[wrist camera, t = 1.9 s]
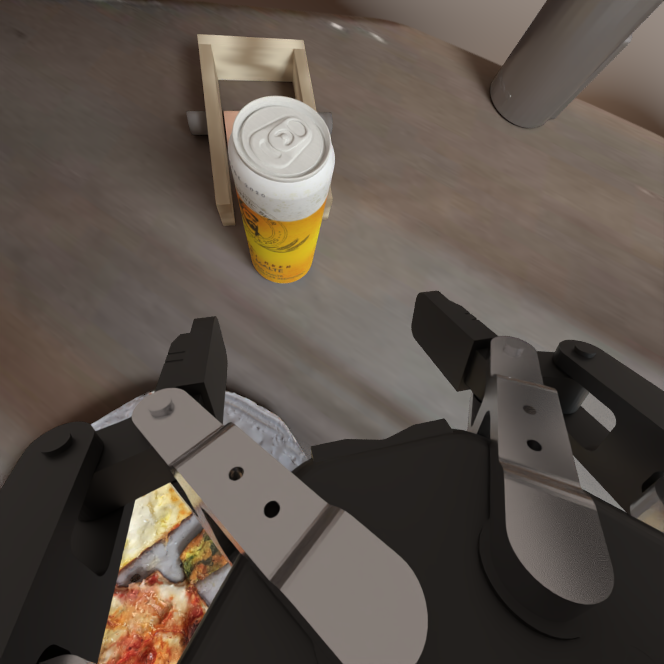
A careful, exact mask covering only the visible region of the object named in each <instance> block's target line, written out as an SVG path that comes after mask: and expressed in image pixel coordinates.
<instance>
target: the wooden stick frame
mask: <svg viewBox="0 0 664 664" xmlns="http://www.w3.org/2000/svg"><path fill="white" fill-rule="evenodd" d="M197 36H198V45H199V54H200V63H201V72H202V81H203V90H204V99H205V109H206V111H187V119H188V124H189V128H190V131H191V134H192V135H208V136H209V145H210V154H211V163H212V172H213V181H214V191H215V200H216V206H217V209H218V212H219V215H220V218H221V220H222V223H223V226H230V225H236V224H235V216H234V207H233V199H232V191H231V183H230V174H229V166H228V158H227V149H226V141H225V133H224V125H223V116H222V108H221V100H220V91H219V83H218V80H247V81H281V82H293V87H294V93H295V99H296V100H298V101H301V102H303V103H305V104H306V105H308V106H310V107H311V108H312V109H314V110H315V111H316V106H315V101H314V96H313V90H312V85H311V79H310V74H309V69H308V63H307V58H306V52H305V47H304V42H303V40H290V39H272V38H254V37H237V36H219V35H201V34H197ZM239 112H240V111H224V119H225V127H226V135H227V143H228V142H229V138H230V135H231V133H232V128H233V123H234V120H235V118H236V116H237V114H238V113H239ZM317 113H318V114H319V115H320V116H321V117H322V119H323V120H324V122H325V123H326V125H327V127H328V130H329V132H330V134H331V133H332V114H331V112H317ZM332 200H333V198H332V193H331V187H329V191H328V196H327V200H326V204H325V208H324V213H323V217H322V220H327V219H328V215H329V211H330V208H331V204H332Z"/></svg>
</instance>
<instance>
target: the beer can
mask: <svg viewBox="0 0 664 664" xmlns="http://www.w3.org/2000/svg"><path fill="white" fill-rule="evenodd" d="M228 156H229V161H230V165H231V170H232V174H233V179H234V183H235V188H236V192H237V197H238V201H239V206H240V210H241V214H242V219H243V223H244V228H245V232H246V237H247V241H248V246H249V250H250V255H251V259H252V263H253V265H254V267H255V269H256V270H257V271H258V273H259V274H260V275H262V276H263V277H264V278H266V279H268V280H270V281H272V282H276V283H291V282H294V281H296V280H298V279H300V278H302V277H303V276H304V275H305V274H306V273H307V272H308V270H309V269H310V267H311V264H312V260H313V256H314V252H315V247H316V243H317V239H318V234H319V230H320V226H321V221H322V217H323V213H324V208H325V204H326V200H327V196H328V191H329V187H330V183H331V178H332V174H333V170H334V164H335V155H334V149H333V146H332V143H331V137H330V132H329V130H328V127H327V125H326V123H325V122H324V120H323V119H322V117H321V116H320V115H319V114H318V113H317V112H316V111H315V110H314V109H312V108H311V107H310V106H308V105H306V104H305V103H303V102H301V101H298V100H296V99H293V98H289V97H284V96H267V97H262V98H259V99H256V100H254V101H252V102H250V103H248V104H247V105H245V106H244V107H243V108H242V109H241V110H240V112H239V113H238V114H237V116H236V118H235V120H234V123H233V128H232V133H231V135H230V138H229V142H228Z"/></svg>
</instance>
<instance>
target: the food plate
mask: <svg viewBox="0 0 664 664" xmlns="http://www.w3.org/2000/svg"><path fill="white" fill-rule="evenodd" d="M153 390H154V389H153ZM154 392H155V390H154V391H152V392H150V393H147V395H145V396H143V397H141V398H138V397H137V398H138V399H137V398H135V399H136V400H135V399H133V400H134V401H133V400H131V401H132V402H131V401H130V402H128V403H129V404H128V403H126V404H127V405H126V404H125V406H124V405H123V407H122V406H121V407H119V408H120V409H119V408H118V410H117V409H116V410H114V411H115V412H114V411H113V412H111V413H109V414H108V415H106V416H104V417H102V418H101V419H99V420H98V421H96V422H94V423H92V424H91V425H92V427H93V428H94V430H95V431H97V430H100V429H102V428H105V427H107V426H110V425H113V424H115V423H118V422H120V421H123V420H125V419H127V418H129V417H131V416H132V413H133V410H134V408H135V407H136V405H137V404H138V403H139V402H140V401H141V400H142V399H144V398H145V397H147V396H148V395H150V394H152V393H154ZM143 395H144V394H143ZM141 396H142V395H141ZM139 397H140V396H139ZM246 398H247V397H246ZM246 398H244V397H242V396H240V395H237V394H235V393H234V392H232V393H231V392H228V391H225V404H224V417H223V425H224V426H225V425H226V424H227V423H229V422H232V423H234V424H235V425H237V426H238V427H239V428H240V429H241V430H243V431H244V432H245V433H246V434H247V435H248V436H250V437H251V438H252V439H253V440H254V441H255V442H257V443H258V444H259V445H260V446H261V447H262V448H264V449H265V450H266V451H267V452H268V453H269V454H271V455H272V456H273V457H274V458H275V459H276V460H277V461H279V462H280V463H281V464H282V465H283V466H284V467H286V468H287V469H288V470H289V471H290V472H291V471H292V470H294V469H295V468H296V467H297V466H299V465H300V464H302V463H303V462H305V461H307V460H309V459H308V458H307V457H306V455H305V454H304V452H303V450H302V449H301V447H300V445H299V444H298V442H297V441H296V440H295V438H294V436H293V435H292V433H291V432H290V431H289V429H288V427H287V426H286V424H285V423H284V422H283V420H281V419H280V417H279V416H277V415H275V414H274V413H273V412H270V411H269V410H267V409H266V408H263V407H262V406H257V404H255V402H253V401H250V399H246ZM166 551H167V552H166ZM230 569H231V565H230V564H229V563H228V561H227V560H226V559H225V558H224V556H223V555H222V554H221V552H220V551H219V550H218V548H217V547H216V546H215V544H214V543H213V541H212V540H211V538H210V537H209V535H208V534H207V532H206V531H205V529H204V528H203V527H202V525H201V524H200V523H199V521H198V520H197V519H196V517H195V516H194V515H193V514H192V512H191V511H190V510H189V508H188V507H187V506H186V505H185V503H184V502H183V501H182V500H181V498H180V497H179V496H178V494H177V493H176V492H175V491H174V489H173V488H172V487H171V485H170V484H169V483H168V484H166V485H164V486H162V487H160V488H158V489H156V490H154V491H152V492H150V493H148V494H146V495H144V496H142V497H140V498H138V499H136V500H135V504H134V509H133V513H132V517H131V521H130V526H129V530H128V534H127V539H126V543H125V547H124V551H123V556H122V560H121V564H120V569H119V573H118V577H117V581H116V586H115V590H114V594H113V599H112V603H111V607H110V611H109V616H108V620H107V624H106V629H105V633H104V637H103V642H102V646H101V650H100V654H99V659H98V663H97V664H177V662H178V660H179V658H180V657H181V655H182V653H183V651H184V649H185V648H186V646H187V644H188V642H189V641H190V639H191V637H192V635H193V634H194V632H195V630H196V628H197V627H198V625H199V623H200V621H201V620H202V618H203V616H204V614H205V613H206V611H207V609H208V607H209V606H210V604H211V602H212V600H213V599H214V597H215V595H216V593H217V592H218V590H219V588H220V586H221V585H222V583H223V581H224V579H225V578H226V576H227V574H228V572H229V571H230ZM135 574H139V575H140V577H141V578H140V579H139V580H138V581H136V582H131V578H132V576H134V575H135Z"/></svg>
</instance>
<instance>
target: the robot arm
mask: <svg viewBox="0 0 664 664" xmlns="http://www.w3.org/2000/svg"><path fill="white" fill-rule="evenodd" d="M663 1H664V0H547V1H546V3H545V4H544V5H543V7H542V8H541V10H540V11H539V13H538V14H537V16H536V17H535V19H534V20H533V21H532V23H531V25H530V26H529V27H528V29H527V31H526V32H525V33H524V35H523V36H522V38H521V39H520V41H519V42H518V44H517V45H516V47H515V48H514V50H513V51H512V53H511V54H510V56H509V57H508V59H507V60H506V62H505V63H504V65H503V66H502V68H501V69H500V71H499V72H498V74H497V75H496V77H495V78H494V80H493V81H492V83H491V87H490V94H491V99H492V101H493V103H494V105H495V107H496V109H497V110H498V111H499V112H500V114H501V115H502V116H503V117H505V118H506V119H507V120H508V121H510V122H512V123H513V124H515V125H518V126H521V127H525V128H535V127H539V126H541V125H543V124H544V123H545V122H546V121H547V120H548V119H554V118H556V117H557V116H558V115H559V114H560V113H561V112H562V111H563V110H564V109H565V108H566V106H567V105H568V104H569V103H570V102H571V101H572V100H573V99H574V98H575V97H576V96H577V95H578V94H579V93H580V92H581V91H582V90H583V89H584V88H585V87H586V86H587V85H588V84H589V83H590V82H591V81H592V80H593V79H594V78H595V77H596V76H597V75H598V74H599V73H600V72H601V71H602V70H603V69H604V68H605V67H606V66H607V65H608V64H609V63H610V62H611V61H612V60H613V59H614V58H615V57H616V56H617V55H618V54H619V53H620V52H621V51H622V50H623V49H624V48H625V47H626V46H627V45H628V44H629V43H630V41H631V39H632V33H633V32H634V31H635V30H636V29H637V28H638V27H639V26H640V25H641V24H642V23H643V22H644V21H645V20H646V19H647V18H648V17H649V16H650V15H651V13H653V12H654V11H655V9H656V8H658V6H659V5H660V4H661V3H662V2H663ZM411 328H412V334H413V337H414V338H415V340H416V341H417V342H418V343H419V345H420V346H421V347H422V348H423V350H424V351H425V352H426V353H427V355H428V356H429V357H430V358H431V360H432V361H433V362H434V363H435V365H436V366H437V367H438V368H439V370H440V371H441V372H442V373H443V375H444V376H445V377H446V378H447V380H448V381H449V382H450V383H451V385H452V386H453V387H454V388H455V390H456V391H457V392H458V391H463V390H468V389H471V390H472V394H471V397H470V404H469V417H468V429H467V431H464V430H457V429H451V427H450V426H449V424H448V423H447V422H446V420H445V419H440V420H435V421H430V422H425V423H421V424H416V425H413V426H411V427H409V428H407V429H405V430H403V431H401V432H399V433H397V434H395V435H393V436H391V437H389V438H387V439H384V440H362V439H344V440H339V441H335V442H330V443H325V444H320V445H316V446H311V459H309V460H307V461H305V462H303V463H302V464H300V465H299V466H297V467H296V468H295V469H294V470H292V471H291V472H290V471H289V470H288V469H287V468H286V467H284V466H283V465H282V464H281V463H280V462H279V461H277V460H276V459H275V458H274V457H273V456H272V455H271V454H269V453H268V452H267V451H266V450H265V449H264V448H262V447H261V446H260V445H259V444H258V443H257V442H255V441H254V440H253V439H252V438H251V437H250V436H248V435H247V434H246V433H245V432H244V431H243V430H241V429H240V428H239V427H238V426H237V425H235V424H234V423H232V422H229V423H227V424H226V425H225V426H224V425H223V417H224V404H225V391H226V378H227V354H226V349H225V345H224V342H223V338H222V334H221V330H220V326H219V322H218V319H217V317H216V316H214V317H206V318H197V319H194V321H193V324H192V328H191V332H190V333H186V334H180V335H179V336H178V337H177V338H176V339H175V340H174V341H173V342H172V343H171V346H170V349H169V352H168V355H167V358H166V360H165V364H164V366H163V369H162V372H161V375H160V378H159V381H158V384H157V386H156V389H155V392H154V393H152V394H150V395H148V396H147V397H145V398H144V399H142V400H141V401H140V402H139V403H138V404H137V405H136V407H135V408H134V410H133V413H132V416H131V417H129V418H127V419H125V420H123V421H120V422H118V423H115V424H113V425H110V426H107V427H105V428H102V429H100V430H97V431H95V430H94V428H93V427H92V425H90V424H89V423H86V422H71V423H67V424H63V425H61V426H58V427H56V428H53V429H51V430H50V431H48V432H46V433H44V434H43V435H41V436H40V437H39V438H37V439H36V440H35V441H34V442H32V443H31V444H30V445H29V446H28V448H27V449H26V450H25V451H24V453H23V454H22V456H21V458H20V459H19V461H18V462H17V464H16V466H15V467H14V469H13V471H12V472H11V474H10V475H9V477H8V479H7V480H6V482H5V484H4V485H3V487H2V489H1V490H0V664H97V663H98V659H99V654H100V650H101V646H102V642H103V637H104V633H105V629H106V624H107V620H108V616H109V611H110V607H111V603H112V599H113V594H114V590H115V586H116V581H117V577H118V573H119V569H120V564H121V560H122V556H123V551H124V547H125V543H126V539H127V534H128V530H129V526H130V521H131V517H132V513H133V509H134V504H135V500H136V499H138V498H140V497H142V496H144V495H146V494H148V493H150V492H152V491H154V490H156V489H158V488H160V487H162V486H164V485H166V484H168V483H169V484H170V485H171V487H172V488H173V489H174V491H175V492H176V493H177V494H178V496H179V497H180V498H181V500H182V501H183V502H184V503H185V505H186V506H187V507H188V508H189V510H190V511H191V512H192V514H193V515H194V516H195V517H196V519H197V520H198V521H199V523H200V524H201V525H202V527H203V528H204V529H205V531H206V532H207V534H208V535H209V537H210V538H211V540H212V541H213V543H214V544H215V546H216V547H217V548H218V550H219V551H220V552H221V554H222V555H223V556H224V558H225V559H226V560H227V561H228V563H229V564H230V565H231V569H230V571H229V572H228V574H227V576H226V578H225V579H224V581H223V583H222V585H221V586H220V588H219V590H218V592H217V593H216V595H215V597H214V599H213V600H212V602H211V604H210V606H209V607H208V609H207V611H206V613H205V614H204V616H203V618H202V620H201V621H200V623H199V625H198V627H197V628H196V630H195V632H194V634H193V635H192V637H191V639H190V641H189V642H188V644H187V646H186V648H185V649H184V651H183V653H182V655H181V657H180V658H179V660H178V662H177V664H664V391H663V390H661V389H660V388H658V387H657V386H655V385H654V384H652V383H651V382H649V381H648V380H646V379H645V378H643V377H642V376H640V375H639V374H637V373H636V372H634V371H633V370H631V369H630V368H628V367H627V366H625V365H624V364H622V363H621V362H619V361H618V360H616V359H615V358H613V357H612V356H610V355H609V354H607V353H606V352H604V351H603V350H601V349H599V348H598V347H596V346H593V345H591V344H588V343H585V342H582V341H576V340H565V341H562V342H560V344H559V345H558V347H557V349H556V351H555V352H541V351H536V350H535V348H534V347H533V346H532V345H530V344H529V343H527V342H525V341H523V340H521V339H518V338H515V337H510V336H497V335H496V334H495V333H494V332H492V331H491V330H490V329H489V328H488V327H486V326H485V325H484V324H483V323H482V322H480V321H479V320H476V318H475V317H474V316H473V315H472V314H470V313H469V312H468V311H467V310H466V309H465V308H463V307H462V306H460V305H458V304H456V303H454V302H452V301H450V300H448V299H447V298H446V297H445V296H444V295H442V294H441V293H440V292H439V291H430V292H421V293H419V294H418V295H417V297H416V302H415V308H414V314H413V319H412V326H411ZM589 392H590V393H591V394H592V395H593V396H595V397H596V398H597V399H598V400H599V401H601V402H602V403H603V404H604V405H605V406H607V407H608V408H609V409H610V410H611V411H612V412H613V413H614V415H615V418H616V425H615V427H614V428H613V430H612V431H611V432H609V431H608V430H607V429H606V428H605V427H604V426H603V425H601V424H600V423H599V422H598V421H597V420H596V419H595V418H594V417H592V416H591V415H590V414H589V413H588V412H587V411H586V410H585V409H584V408H582V407H581V404H582V403H583V401H584V400H585V398H586V397H587V395H588V394H589ZM573 455H574V457H575V458H576V459H577V460H578V461H579V462H580V463H581V464H582V465H583V466H584V467H585V468H586V469H587V471H588V472H589V473H590V474H591V475H592V476H593V477H594V478H595V479H596V480H597V481H598V482H599V483H600V484H601V486H602V487H603V488H604V489H605V490H606V491H607V492H608V493H609V494H610V495H611V496H612V497H613V498H614V500H615V501H616V502H617V503H618V504H619V505H620V506H621V507H622V508H623V509H624V510H625V511H626V512H627V513H626V512H624V511H622V510H620V509H618V508H617V507H615V506H613V505H611V504H609V503H607V502H605V501H603V500H602V499H600V498H598V497H596V496H594V495H592V494H590V493H589V492H587V491H585V490H583V489H582V488H581V486H580V482H579V478H578V474H577V470H576V466H575V462H574V458H573Z"/></svg>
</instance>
